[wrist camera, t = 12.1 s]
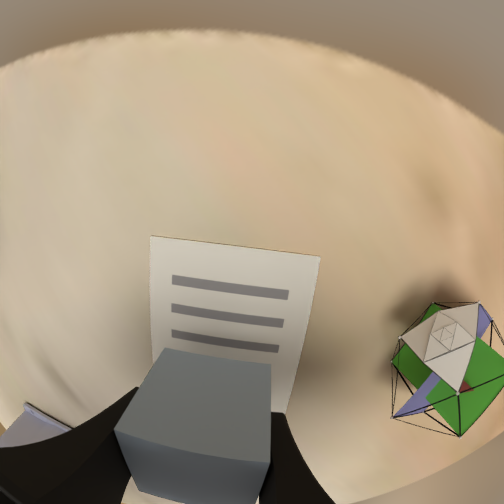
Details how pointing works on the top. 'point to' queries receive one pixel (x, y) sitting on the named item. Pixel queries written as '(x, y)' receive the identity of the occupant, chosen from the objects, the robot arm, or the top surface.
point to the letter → (232, 305)
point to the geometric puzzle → (450, 365)
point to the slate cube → (199, 429)
